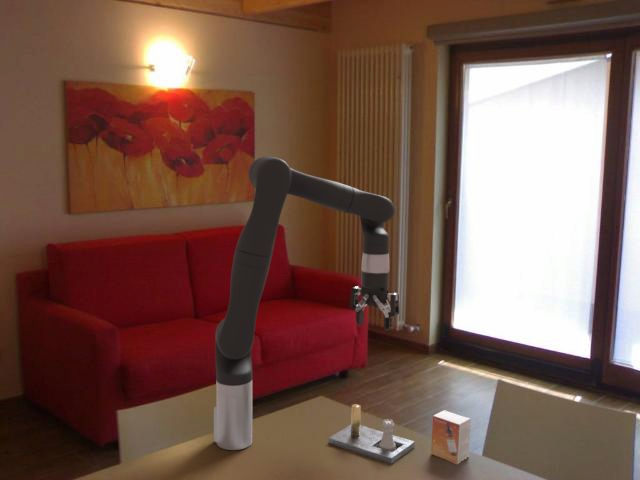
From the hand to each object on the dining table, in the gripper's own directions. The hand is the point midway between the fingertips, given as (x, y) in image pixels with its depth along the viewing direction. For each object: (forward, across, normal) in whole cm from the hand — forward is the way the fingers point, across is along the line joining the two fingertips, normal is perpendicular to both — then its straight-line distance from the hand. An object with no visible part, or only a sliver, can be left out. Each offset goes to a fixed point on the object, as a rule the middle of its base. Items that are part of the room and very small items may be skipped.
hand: (373, 327), depth 189 cm
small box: (+28, +26, -4) cm, 39 cm away
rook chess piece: (+28, +12, -11) cm, 33 cm away
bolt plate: (+28, +7, -11) cm, 31 cm away
